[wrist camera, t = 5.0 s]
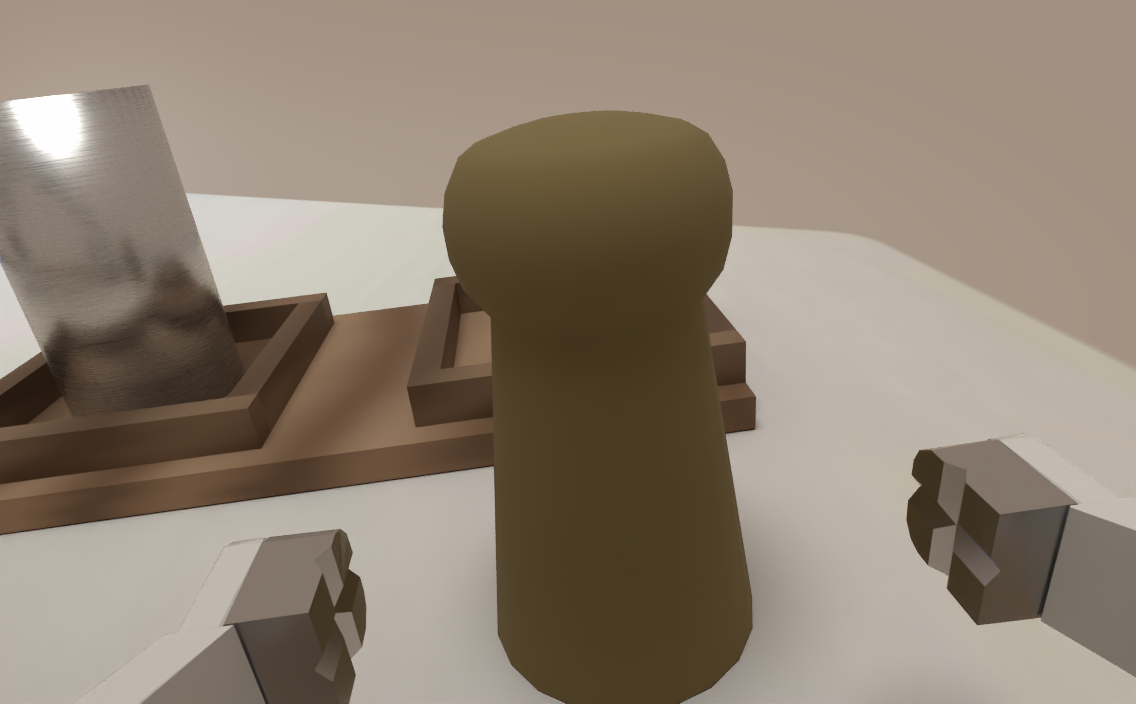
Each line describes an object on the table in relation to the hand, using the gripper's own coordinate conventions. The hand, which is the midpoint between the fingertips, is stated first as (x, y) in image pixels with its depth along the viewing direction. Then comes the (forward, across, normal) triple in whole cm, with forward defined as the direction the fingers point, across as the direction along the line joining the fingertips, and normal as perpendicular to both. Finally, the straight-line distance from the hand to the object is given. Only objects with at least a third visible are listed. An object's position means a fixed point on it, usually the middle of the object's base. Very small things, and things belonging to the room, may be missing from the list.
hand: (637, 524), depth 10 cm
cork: (+4, 0, +6) cm, 8 cm away
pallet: (+18, +8, +6) cm, 20 cm away
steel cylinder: (+18, +16, +5) cm, 24 cm away
